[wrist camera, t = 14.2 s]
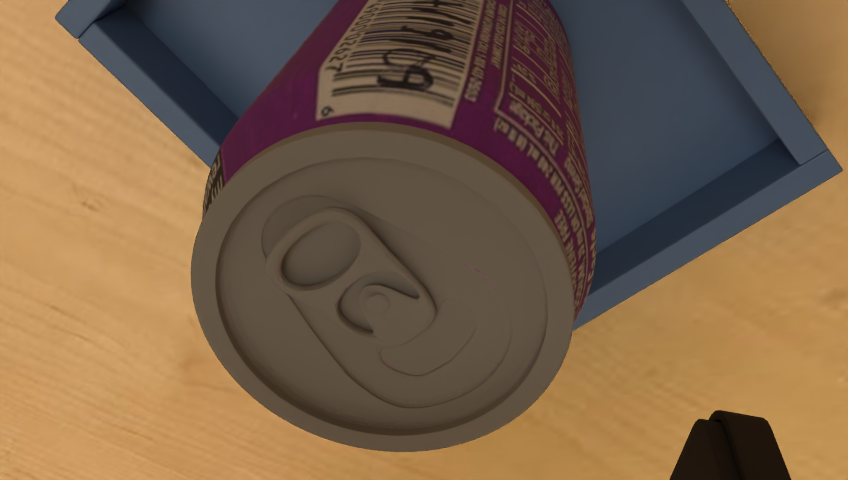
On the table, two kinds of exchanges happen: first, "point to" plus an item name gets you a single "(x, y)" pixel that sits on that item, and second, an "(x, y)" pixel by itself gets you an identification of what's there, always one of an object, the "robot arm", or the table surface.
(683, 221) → the can tray
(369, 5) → the beverage can
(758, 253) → the table surface
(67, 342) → the table surface
